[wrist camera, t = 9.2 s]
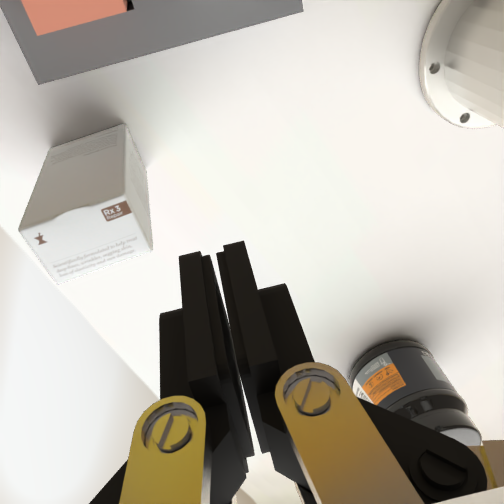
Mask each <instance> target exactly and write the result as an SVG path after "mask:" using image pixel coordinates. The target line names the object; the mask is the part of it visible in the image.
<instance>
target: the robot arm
mask: <svg viewBox="0 0 504 504" xmlns="http://www.w3.org/2000/svg"><path fill="white" fill-rule="evenodd" d="M419 76H420V83H421V88H422V91H423V94H424V97H425V99H426V101H427V102H428V104H429V105H430V107H431V108H432V110H433V111H434V112H436V113H437V114H438V115H439V116H440V117H441V118H443V119H445V120H446V121H448V122H449V123H451V124H453V125H456V126H458V127H462V128H470V129H479V128H488V127H491V126H494V125H498V126H500V127H502V128H504V0H442V1H441V3H440V4H439V6H438V7H437V9H436V11H435V13H434V15H433V17H432V18H431V20H430V23H429V25H428V28H427V30H426V33H425V36H424V38H423V43H422V48H421V52H420V61H419ZM223 247H224V251H223V252H219V253H216V255H217V260H218V266H219V271H220V276H221V281H222V287H223V292H224V297H225V303H226V308H227V313H228V319H229V322H228V319H227V315H226V311H225V308H224V304H223V300H222V297H221V293H220V290H219V286H218V282H217V279H216V275H215V272H214V268H213V264H212V261H211V257H210V255H206V256H202V255H201V252H200V251H198V252H194V253H190V254H186V255H181V256H179V267H180V281H181V295H182V308H181V309H177V310H173V311H169V312H165V313H161V314H160V318H159V333H160V400H159V401H158V402H156V403H154V404H152V405H151V406H150V407H149V408H148V409H147V410H145V411H144V413H143V414H142V415H141V417H140V418H139V420H138V421H137V424H136V426H135V429H134V432H133V438H132V442H131V447H130V452H129V457H128V460H127V461H126V462H125V463H124V465H123V466H122V467H121V468H120V469H119V470H118V471H117V472H116V474H115V475H114V476H113V477H112V478H111V479H110V480H109V482H108V483H107V484H106V485H105V486H104V487H103V488H102V490H101V491H100V492H99V493H98V494H97V495H96V496H95V498H94V499H93V500H92V501H91V502H90V503H89V504H237V500H236V492H237V491H238V489H239V488H240V486H241V485H242V483H243V482H244V480H245V479H246V473H248V472H249V471H248V465H247V459H246V458H247V457H251V456H254V455H255V454H254V448H253V443H252V438H251V432H250V427H249V422H248V416H247V411H246V406H245V401H244V395H243V390H242V385H243V388H244V392H245V395H246V399H247V402H248V406H249V410H250V413H251V417H252V420H253V424H254V427H255V431H256V434H257V438H258V441H259V445H260V448H261V452H262V453H266V452H270V453H271V457H272V460H273V464H274V468H275V471H277V472H279V473H281V474H282V475H284V476H286V477H287V478H289V479H291V480H293V481H294V483H295V487H296V490H297V492H298V495H299V497H300V499H301V502H302V504H504V440H488V441H481V446H466V445H464V444H462V443H461V442H459V441H457V440H456V439H454V438H451V437H449V436H447V435H444V434H442V433H440V432H437V431H435V430H433V429H430V428H428V427H426V426H424V425H421V424H419V423H417V422H414V421H412V420H410V419H407V418H405V417H403V416H400V415H398V414H396V413H394V412H391V411H389V410H387V409H384V408H382V407H380V406H377V405H375V404H373V403H370V402H368V401H366V400H363V399H361V398H359V397H357V396H355V394H354V392H353V391H352V389H351V388H350V386H349V384H348V383H347V381H346V380H345V378H344V377H343V376H342V375H341V374H340V373H339V371H338V370H336V369H334V368H332V367H331V366H329V365H326V364H322V363H318V362H314V359H313V356H312V353H311V351H310V348H309V345H308V343H307V340H306V337H305V334H304V332H303V329H302V326H301V323H300V321H299V318H298V315H297V313H296V310H295V307H294V304H293V302H292V299H291V296H290V294H289V291H288V288H287V286H286V284H285V283H284V284H280V285H276V286H272V287H267V288H263V289H259V290H258V289H257V285H256V282H255V278H254V275H253V271H252V268H251V264H250V261H249V257H248V254H247V250H246V246H245V243H244V241H240V242H236V243H232V244H228V245H223ZM229 324H230V326H229ZM230 329H231V330H230ZM240 378H241V380H240ZM241 381H242V385H241Z"/></svg>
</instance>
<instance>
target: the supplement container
mask: <svg viewBox="0 0 504 504" xmlns="http://www.w3.org/2000/svg"><path fill="white" fill-rule="evenodd" d="M349 385H350V388H351V389H352V391H353V392H354V394H355V396H357V397H359V398H361V399H363V400H366V401H368V402H370V403H373V404H375V405H377V406H380V407H382V408H384V409H387V410H389V411H391V412H394V413H396V414H398V415H400V416H403V417H405V418H407V419H410V420H412V421H414V422H417V423H419V424H421V425H424V426H426V427H428V428H430V429H433V430H435V431H437V432H440V433H442V434H444V435H447V436H449V437H451V438H454V439H456V440H457V441H459V442H461V443H462V444H464V445H466V446H480V445H481V441H482V437H481V434H480V432H479V430H478V429H477V427H476V426H475V424H474V423H473V421H472V420H471V419H470V417H469V416H468V408H467V405H466V403H465V401H464V399H463V398H462V397H461V396H460V395H459V394H458V393H457V392H456V390H455V389H454V387H453V386H452V384H451V383H450V381H449V380H448V379H447V377H446V376H445V374H444V373H443V371H442V370H441V368H440V367H439V366H438V364H437V363H436V361H435V360H434V358H433V356H432V354H431V353H430V351H429V350H428V349H427V348H426V347H425V346H423V345H422V344H420V343H418V342H415V341H410V340H397V341H391V342H388V343H384V344H382V345H379V346H377V347H375V348H373V349H372V350H370V351H369V352H367V353H366V354H365V355H364V356H363V357H362V358H360V360H359V361H358V362H357V363H356V364H355V366H354V368H353V369H352V372H351V374H350V379H349Z"/></svg>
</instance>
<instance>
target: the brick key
mask: <svg viewBox="0 0 504 504" xmlns="http://www.w3.org/2000/svg"><path fill="white" fill-rule="evenodd" d="M21 1H22V4H23V6H24V8H25V10H26V12H27V15H28V17H29V19H30V21H31V23H32V26H33V28H34V30H35V32H36V34H37V36H39V35H43V34H46V33H50V32H54V31H57V30H61V29H65V28H68V27H72V26H76V25H79V24H83V23H87V22H90V21H94V20H98V19H101V18H105V17H109V16H112V15H116V14H120V13H123V12H127V2H128V0H21Z"/></svg>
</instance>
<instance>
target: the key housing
mask: <svg viewBox="0 0 504 504" xmlns="http://www.w3.org/2000/svg"><path fill="white" fill-rule="evenodd" d="M0 7H1V9H2V11H3V13H4V15H5V17H6V19H7V21H8V23H9V25H10V27H11V29H12V31H13V34H14V36H15V38H16V40H17V42H18V44H19V46H20V48H21V50H22V52H23V54H24V56H25V58H26V61H27V63H28V65H29V67H30V69H31V71H32V73H33V75H34V77H35V79H36V81H37V83H38V85H40V84H43V83H47V82H51V81H54V80H58V79H61V78H65V77H69V76H72V75H76V74H79V73H83V72H87V71H90V70H94V69H97V68H101V67H105V66H108V65H112V64H116V63H119V62H123V61H126V60H130V59H134V58H137V57H141V56H144V55H148V54H152V53H155V52H159V51H162V50H166V49H170V48H173V47H177V46H180V45H184V44H188V43H191V42H195V41H199V40H202V39H206V38H209V37H213V36H217V35H220V34H224V33H227V32H231V31H235V30H238V29H242V28H245V27H249V26H253V25H256V24H260V23H264V22H267V21H271V20H274V19H278V18H282V17H285V16H289V15H292V14H296V13H300V12H303V5H302V0H128V2H127V12H123V13H120V14H116V15H112V16H109V17H105V18H101V19H98V20H94V21H90V22H87V23H83V24H79V25H76V26H72V27H68V28H65V29H61V30H57V31H54V32H50V33H46V34H43V35H39V36H37V34H36V32H35V30H34V28H33V26H32V23H31V21H30V19H29V17H28V15H27V12H26V10H25V8H24V6H23V4H22V1H21V0H0Z"/></svg>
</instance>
